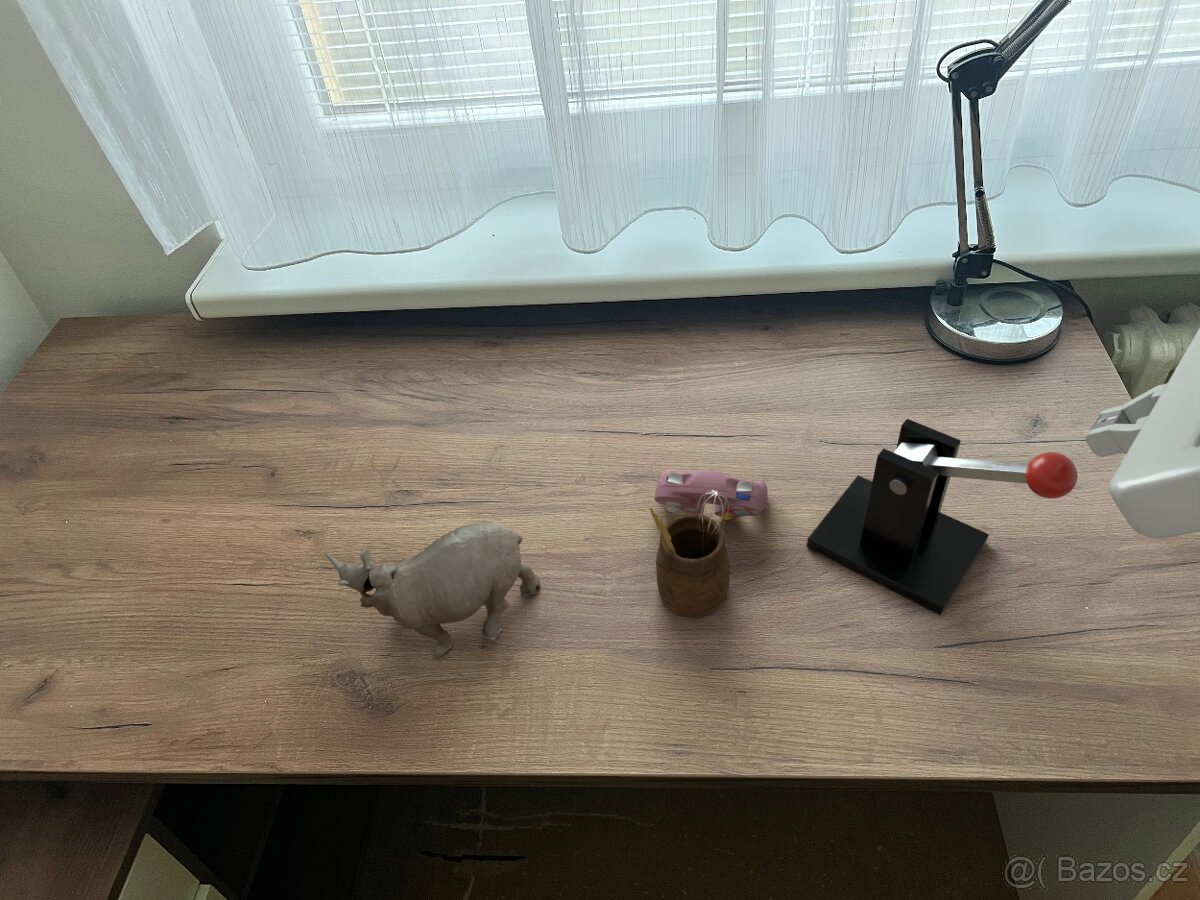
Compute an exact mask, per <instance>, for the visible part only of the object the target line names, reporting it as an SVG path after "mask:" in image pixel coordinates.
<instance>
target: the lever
mask: <svg viewBox="0 0 1200 900" xmlns="http://www.w3.org/2000/svg"><path fill="white" fill-rule="evenodd" d="M896 448H897V447H896ZM893 453H896V454H898V455H900V456H903V457H905V458H907V459H910V460H912V461H914V462H917V463H919V464H921V465H924V466H926V467H928V468H931V469H933V470H935V471H938V475H939V476H950V478H960V479H961V478H962V479H970V480H971V479H973V480H984V481H993V482H996V481H997V482H1003V483H1014V484H1015V483H1017V484H1027V486H1028V488H1029V489H1030V491H1032V492H1033V493H1034V494H1035V495H1037V496H1038V497H1041V498H1043V499H1049V500H1050V499H1051V500H1053V499H1054V500H1055V499H1059V498H1063V497H1065V496H1067V495H1068V494H1070V493H1071V492H1072V491H1073V490H1074V488H1075V486H1076V484H1077V481H1078V470H1077V467H1076V465H1075V463H1074V462H1073V461H1072V460H1071V459H1070V458H1069V457H1068V456H1067V455H1064V454H1062V453H1059V452H1053V451H1049V452H1042V453H1039V454H1038V455H1036V456H1034V457H1033V458H1031V460H1030V461H1029V462H1016V461H1015V462H1014V461H1001V460H1000V461H999V460H988V459H976V458H975V459H974V458H962V457H961V458H960V457H956V458H949V457H938V454H937V451H936V447H935V445H931V444H915V443H901V444H900V445H899V446H898V448H897V449H895V450H894V451H893Z"/></svg>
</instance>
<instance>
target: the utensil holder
mask: <svg viewBox="0 0 1200 900" xmlns="http://www.w3.org/2000/svg"><path fill="white" fill-rule="evenodd" d="M708 491H713V490H708ZM708 491H707V492H708ZM717 491H718V490H717ZM707 492H706V494H709V493H707ZM713 492H714V491H713ZM720 493H721V492H720ZM706 494H704V495H705V497H706ZM715 494H716V496H717V494H718V493H717V492H715V493H714V495H715ZM723 494H724V493H723ZM704 495H703V496H704ZM718 495H720V494H718ZM724 495H725V494H724ZM703 496H702V497H703ZM712 496H713V495H712ZM716 496H715V500H716ZM721 496H722V495H721ZM702 497H701V498H702ZM710 497H711V496H710ZM710 497H709V498H710ZM718 497H719V496H718ZM722 497H724V496H722ZM725 497H726V495H725ZM725 497H724V498H725ZM701 498H700V499H701ZM709 498H708V499H709ZM708 499H707V500H708ZM719 499H720V497H719ZM725 499H726V498H725ZM704 500H705V498H704ZM707 500H706V501H707ZM715 500H714V504H712V508H711V513H710V516H706V515H703V514H704V512H703V506H702V509H701V511H702V513H700V514H697V513H696V514H692V513H685V514H681V515H678V516H676V517H674V518H672V519H670V520H669V521H668V522H666V524H664V521H663V520H662V518H661V516H660V517H659V515H658V513H657V512H655V511H654V509H653V507H652V506H649V507H648V509H649V510H650V513H651V516H652V518H653V520H654V524H655V525H656V527H657V529H658V531H659V532H660V537H659V540H658V541H659V542H658V548H657V552H656V557H655V568H656V569H655V570H656V585H657V591H658V594H659V597H660V599H661V600H662V603H663V604H664V605H665V606H666V607H667V608H668V609H669V610H670V611H672V612H674V613H675V614H677V615H680V616H683V617H688V618H700V617H705V616H708V615H710V614H712V613H714V612H715V611H717V610H718V609H720V607H721V606H722V605H723V603H724V602H725V601H726V599H727V596H728V593H729V589H730V571H731V570H730V568H731V566H730V553H729V549H728V547H727V540H726V536H725V532H724V531H723V527H724V525H725V523H726V521H727V520H725V519H724V522H723V524H722V520H723V518H722V516H721V517H719V520H718V522H717V521H716V520H714V519H713V518H712V517H713V513H714V510H715ZM706 501H705V502H706ZM720 501H721V499H720ZM726 501H727V500H725V503H726ZM699 502H700V500H699ZM727 503H728V501H727ZM704 504H705V505H706V503H704V502H703V505H704ZM721 504H722V502H721ZM698 506H699V503H698ZM724 508H725V505H724ZM728 509H729V504H728ZM697 510H698V507H697ZM723 512H724V510H723V505H722V515H723ZM727 514H728V511H727ZM726 519H727V516H726ZM721 524H722V526H721Z"/></svg>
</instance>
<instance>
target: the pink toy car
mask: <svg viewBox="0 0 1200 900" xmlns="http://www.w3.org/2000/svg"><path fill="white" fill-rule="evenodd" d="M708 490H713V491H714V492H713V491H708ZM717 490H718V491H717ZM707 491H708V492H707ZM706 492H707V493H709V494H706ZM715 492H717V493H718V494H720V495H718V494H717V496H716V494H715V495H714V493H715ZM720 492H721V493H720ZM723 493H724V494H725V495H726V497H725V495H724V494H723ZM704 494H706V497H705V495H704ZM703 495H704V496H703ZM712 495H713V496H712ZM721 495H722V496H724V497H725V498H726V499H725V498H724V497H722V496H721ZM702 496H703V497H702ZM710 496H711V497H710ZM715 496H716V500H715ZM718 496H719V497H720V499H721V501H720V499H719V497H718ZM701 497H702V498H701ZM709 497H710V498H709ZM700 498H701V499H700ZM704 498H705V500H704ZM708 498H709V499H708ZM707 499H708V500H707ZM699 500H700V502H699ZM706 500H707V501H706ZM714 500H715V505H714V511H713V513H714V515H715V516H717V517H719V518H721V516H722V520H724V521H725V520H726V521H729V520H731V519H739V518H741V517H759V516H761V515H762V514H763V510H764V508H765V507H766V505H767V503H768V500H769V495H768V486H767V483H766V481H765V480H757V481H752V480H748V479H744V478H740V477H735V476H734V477H733V476H730V475H727V474H724V473H722V472H719V471H716V470H711V469H707V470H705V469H704V470H698V471H693V472H690V471H689V472H688V471H673V470H671V469H668V470H665V471H664V472H663V473H662V475H660V477H659V479H658V481H657V483H656V487H655V491H654V501H655V502H656V503H658V504H661V505H663V506H665V509H666V510H667V511H668V512H671V513H676V512H679V511H681V512H684V513H686V514H696V513H697V514H700V513H701V514H702V511H701V509H702V506H703V513H704V511H705V506H706V504H709V505H713V504H714ZM725 500H727V501H728V503H727V501H726V503H725ZM705 501H706V502H705ZM703 502H704V503H705V504H704V505H703ZM721 502H722V504H721ZM698 503H699V506H698ZM728 504H729V509H728ZM722 505H723V510H724V512H723V515H722ZM724 505H725V508H724ZM697 507H698V510H697ZM727 511H728V514H727ZM726 516H727V519H726Z"/></svg>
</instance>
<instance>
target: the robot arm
mask: <svg viewBox="0 0 1200 900" xmlns="http://www.w3.org/2000/svg"><path fill="white" fill-rule="evenodd" d="M1085 442H1086V444H1087V445H1088V447H1089V448H1090V451H1091V452H1092V453H1093V454H1094V455H1095V456H1097V457H1101V458H1103V457H1108V456H1113V455H1119V454H1125V455H1124V458H1123V459H1122V461H1121V463H1120V464H1119V465H1118V468H1117V469H1116V472H1115V473H1114V474H1113V477H1112V478H1111V480H1110V482H1109V483H1108V488H1107V489H1108V493H1109V495H1110V496H1111V499H1112V501H1113V502H1114V504H1115V505H1116V507H1117V509H1118V510H1119V512H1120V513H1121V515H1122V516H1123V517H1124V519H1125V521H1126V523H1127V524H1128V525H1129V526H1130V527H1131V529H1132V530H1133V531H1134V532H1135V533H1138V534H1140V535H1142V536H1144V537H1147V538H1149V539H1165V538H1170V537H1177V536H1182V535H1183V536H1184V535H1186V534H1188V535H1189V534H1193V533H1199V532H1200V327H1199V328H1198V329H1197V331H1196V334H1195V335H1194V337H1193V338H1192V340H1191V342H1190V344H1189V345H1188V347H1187V348H1186V350H1185V352H1184V354H1183V356H1182V357H1181V358H1180V361H1179V363H1178V364H1177V365H1176V368H1175V370H1174V371H1173V373H1172V375H1171V377H1170V378H1169V380H1168V381H1167V382H1166V383H1163V384H1159V385H1156V386H1154V387H1153V388H1150V389H1149V390H1146V392H1144V393H1142V394H1140V395H1138V396H1136V397H1134V398H1133V399H1131V400H1129V401H1128V402H1126V403H1124V404H1121V405H1118V406H1113V407H1109V408H1105V409H1103V410H1101V412H1100V413H1099V414H1098V417H1097V419H1096V420H1095V422H1094V424H1093V425H1092V427H1091V428H1090V429H1089V431H1088V432H1087V434H1086V435H1085Z"/></svg>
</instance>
